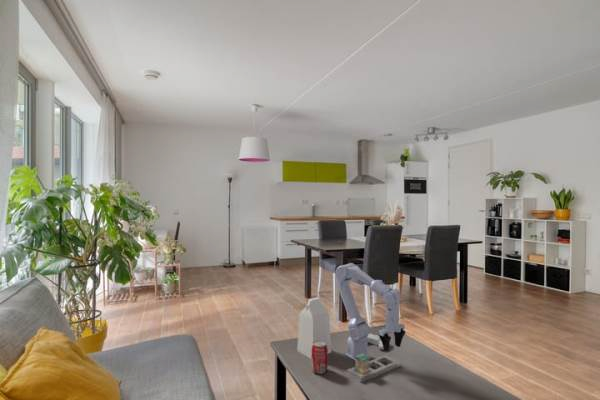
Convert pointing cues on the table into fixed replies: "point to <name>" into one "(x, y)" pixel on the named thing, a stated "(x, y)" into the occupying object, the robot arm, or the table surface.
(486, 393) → the table surface
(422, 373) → the table surface
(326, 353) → the soda can
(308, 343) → the milk
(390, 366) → the grey compartment tray
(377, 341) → the game controller
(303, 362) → the table surface
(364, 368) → the peg
